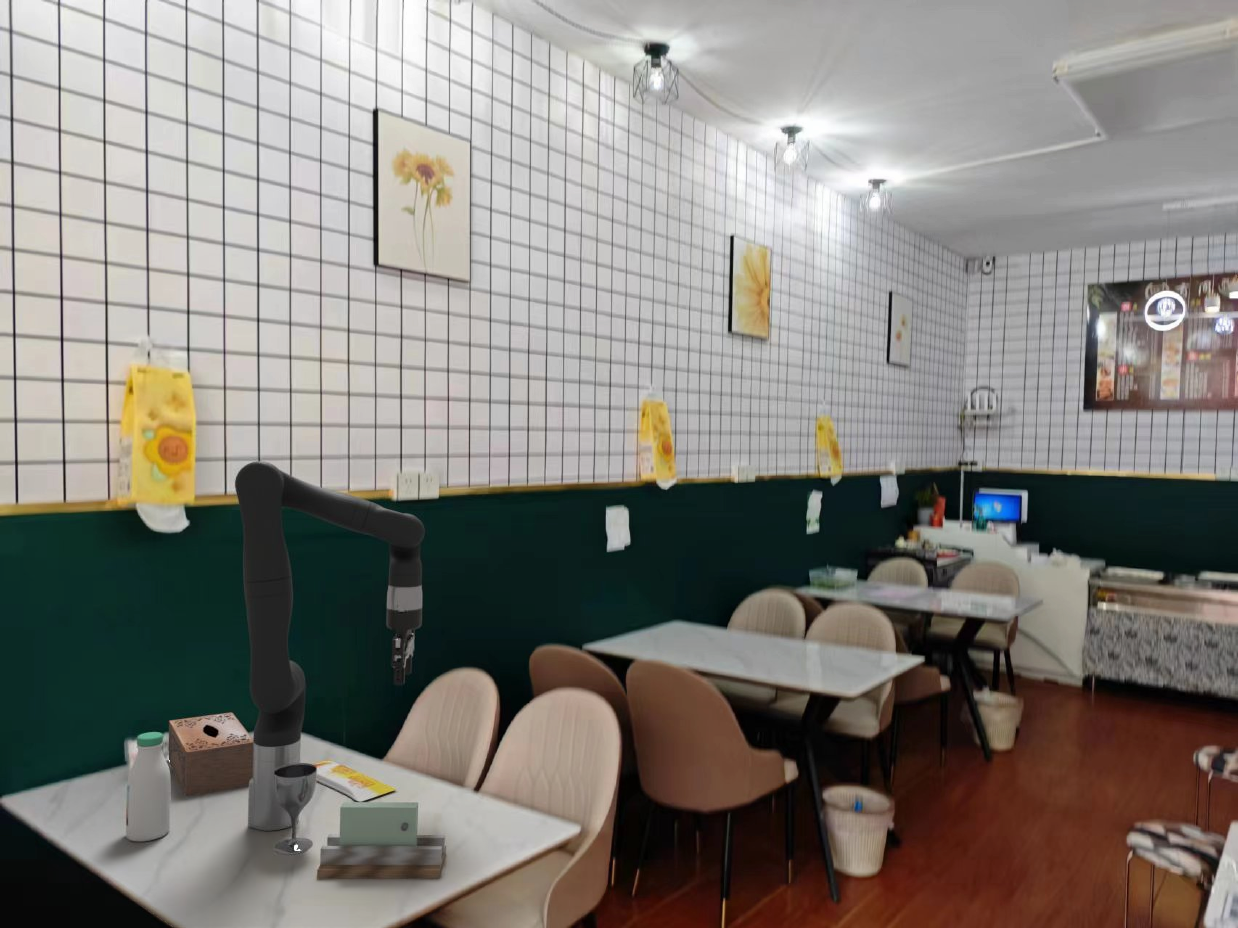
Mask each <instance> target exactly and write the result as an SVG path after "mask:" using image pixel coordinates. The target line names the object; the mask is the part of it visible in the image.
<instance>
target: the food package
mask: <svg viewBox="0 0 1238 928" xmlns="http://www.w3.org/2000/svg"><path fill="white" fill-rule="evenodd" d="M312 765H314V766H316V767H317V779H316V783H320V784H322V785H324V786H326V787H329V788H330V789H332V790H335V791H337V792H338V793H339V792H340V793H341V794H343V795H345V796H346V797H349V798H350V799H353V800H354V801H355V802H366V801H367V800H370V799H373V798H376V797H379V796H382V795H385V794H387V793H390V792H393V791H397V789H396V788H395V787H393V786H391V785H388V784H385V783H384V782H381V781H379V780H377V779H376V778H373V777H371V776H369V775H366V774H364V773H361V772H358V771H356V770H354V769H352V768H349V767H347V766H345V765H343V764H340V763H337V762H334V761H332V760H330V759H329V760H323V761H320V762H317V763H313V764H312Z"/></svg>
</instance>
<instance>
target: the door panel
mask: <svg viewBox="0 0 1238 928" xmlns="http://www.w3.org/2000/svg"><path fill="white" fill-rule="evenodd" d="M339 808H340V810H339V812H340V813H339V835H340V840H339V846H417V835H418V831H419V830H418V827H419V825H418V824H419V823H418V822H419V802H410V801H409V802H406V801H404V802H403V801H402V802H398V801H397V802H396V801H394V802H391V801H390V802H388V801H384V802H383V801H382V802H381V801H379V802H377V801H372V802H371V801H362V802H359V801H343V802H342V804H341V805H340V807H339Z"/></svg>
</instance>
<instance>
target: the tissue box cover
mask: <svg viewBox="0 0 1238 928" xmlns="http://www.w3.org/2000/svg"><path fill="white" fill-rule="evenodd" d="M167 751H169V760H170V763H169V764H170V767H171V769H172V771H173V774H174V775H175V777H176V779H177V782H178V784H179V787H180V789H181V790H182V792H183V794H184V795H183V796H185V797H187V796H188V797H189V796H193V795H200V794H205V793H206V794H207V793H210V792H211V793H212V792H217V791H222V790H227V789H234V788H239V787H244V786H249V781H250V780H251V779H252V778H253V737H252V736H251V735H250V734H249V732H248V731H247V729H246V728H245V727H244V726H243V724H242V723H241V722H240V720H239V719H238V718H237V717H236V714H234V713H233V712H225V713H219V714H218V713H217V714H208V715H202V716H194V717H188V718H187V717H186V718H181V719H180V718H179V719H172V720H168V750H167Z"/></svg>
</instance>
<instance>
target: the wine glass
mask: <svg viewBox="0 0 1238 928" xmlns="http://www.w3.org/2000/svg"><path fill="white" fill-rule="evenodd" d="M316 779H317V767H316V766H314V765H313V764H312V763H307V762H306V763H305V762H300V763H294V764H288V765H284V766H281V767H279V768H277V769H276V770H275V771H274V790H275V795H276V799H277V801H278V803H279V804H280V805H281V806H282V807H283V808H284V809H285V810H286V811H287V812H288V814H289V816H290V818H291V824H292V826H291V838H287V839H284V840H280V841H279V842H277V843H276V844H275V846H274V847H273V848H274V852H276V853H278V854H280V855H296V854H301V853H304V852H307V851H308V850H310V849H311V848H312V847H313V844H314V843H313V841H312V839H309V838H307V837H306V838H305V837H297V826H298V825H297V824H298V821H299V819H298V816H300V813H302V811H303V810H304V808H306V806H307V805H308V804H309V803H310V802H311V800H312V799H313V797H314V794H315V790H316V785H317V781H316ZM297 820H298V821H297Z"/></svg>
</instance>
